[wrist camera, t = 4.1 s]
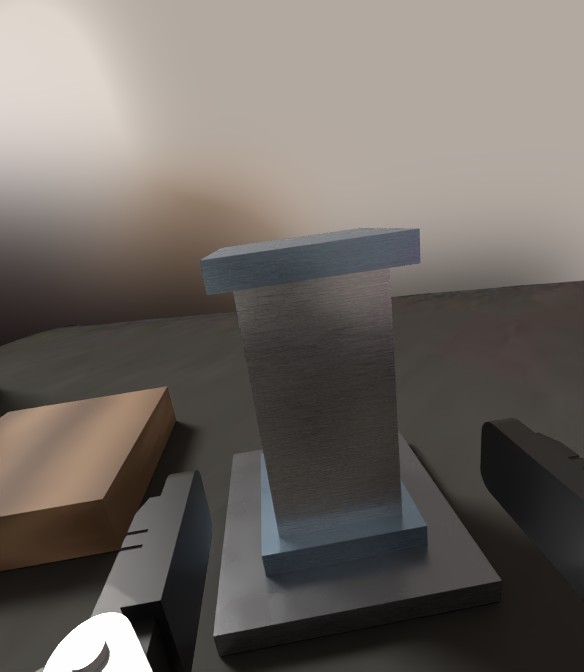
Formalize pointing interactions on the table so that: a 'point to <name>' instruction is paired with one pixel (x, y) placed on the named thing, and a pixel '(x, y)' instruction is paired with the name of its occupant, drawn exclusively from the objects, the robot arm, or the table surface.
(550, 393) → the table surface
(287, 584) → the steel plate
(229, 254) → the column
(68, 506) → the walnut stand
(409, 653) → the table surface
